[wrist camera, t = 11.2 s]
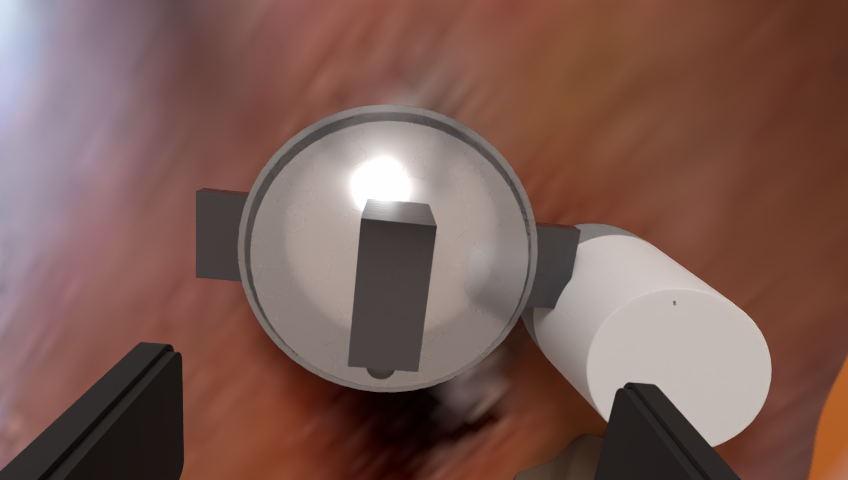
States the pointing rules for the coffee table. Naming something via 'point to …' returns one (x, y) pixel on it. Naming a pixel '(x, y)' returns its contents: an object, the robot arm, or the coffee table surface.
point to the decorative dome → (569, 462)
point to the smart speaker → (653, 334)
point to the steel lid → (389, 254)
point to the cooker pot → (236, 211)
